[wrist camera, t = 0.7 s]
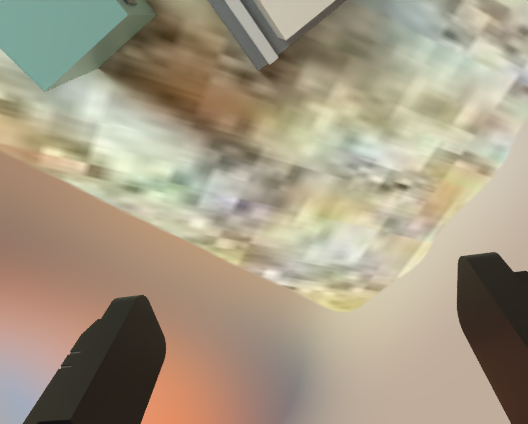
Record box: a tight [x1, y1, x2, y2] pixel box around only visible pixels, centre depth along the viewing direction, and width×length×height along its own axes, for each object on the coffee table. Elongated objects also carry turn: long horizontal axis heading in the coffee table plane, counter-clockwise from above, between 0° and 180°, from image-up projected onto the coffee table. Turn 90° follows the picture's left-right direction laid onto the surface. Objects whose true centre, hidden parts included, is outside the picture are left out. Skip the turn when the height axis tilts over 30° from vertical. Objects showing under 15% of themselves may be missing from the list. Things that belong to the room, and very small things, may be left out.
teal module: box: [0, 0, 157, 92], centre depth 23 cm, size 4×6×10 cm, turn 127°
